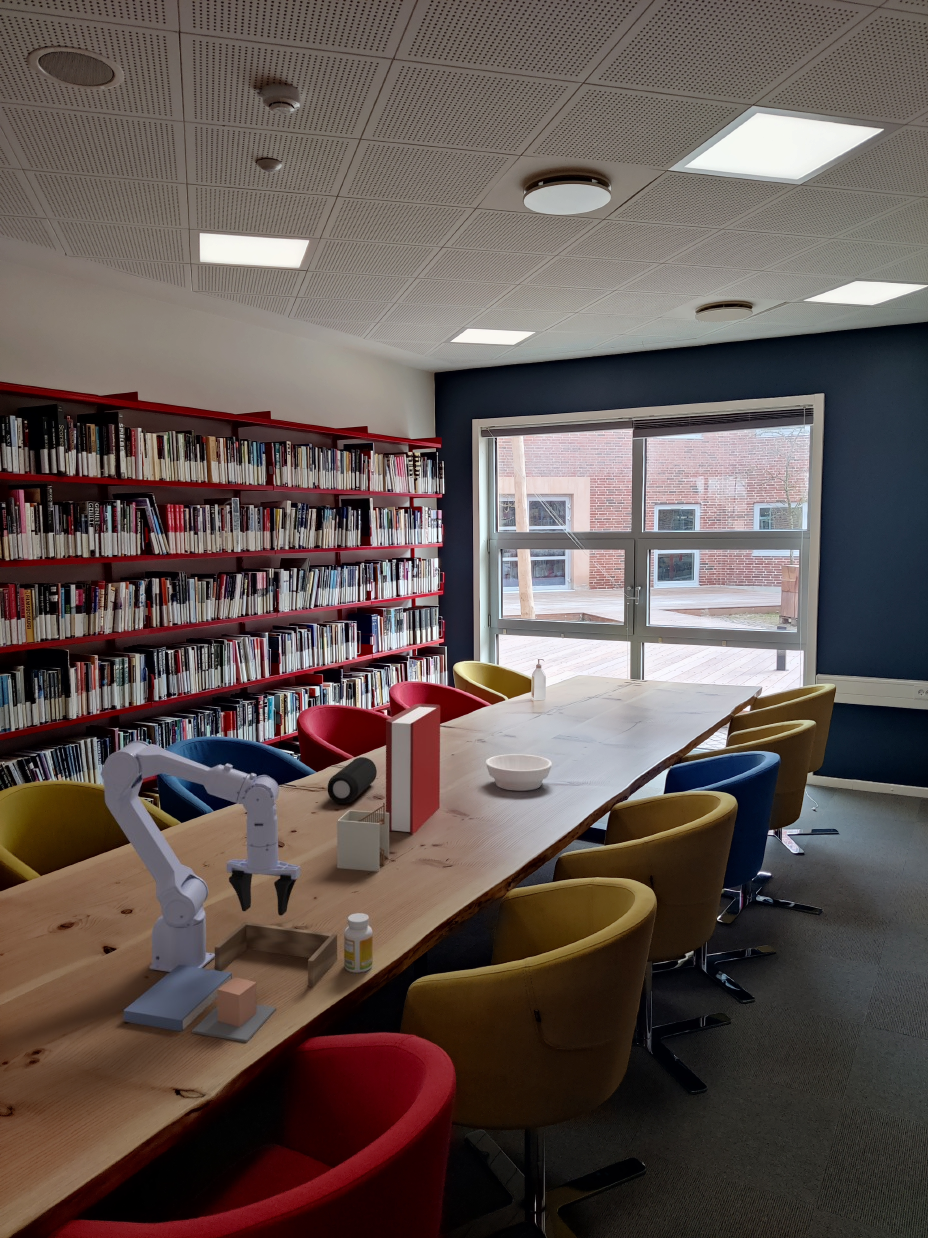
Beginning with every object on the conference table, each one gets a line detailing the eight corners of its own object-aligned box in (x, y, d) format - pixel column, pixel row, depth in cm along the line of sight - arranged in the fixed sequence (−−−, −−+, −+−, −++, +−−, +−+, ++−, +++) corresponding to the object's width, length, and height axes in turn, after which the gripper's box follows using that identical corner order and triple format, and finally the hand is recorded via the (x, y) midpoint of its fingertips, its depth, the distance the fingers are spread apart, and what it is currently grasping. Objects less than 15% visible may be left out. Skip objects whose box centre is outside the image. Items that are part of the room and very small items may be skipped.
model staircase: (379, 873, 207) (379, 808, 206) (337, 869, 209) (337, 804, 208) (389, 860, 216) (389, 797, 214) (349, 857, 218) (348, 794, 217)
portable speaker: (351, 783, 286) (351, 754, 285) (378, 785, 284) (379, 756, 283) (324, 805, 261) (324, 774, 260) (355, 807, 259) (355, 776, 258)
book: (412, 835, 234) (413, 722, 231) (385, 832, 236) (386, 720, 234) (440, 806, 260) (441, 705, 258) (416, 804, 262) (416, 703, 260)
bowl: (519, 773, 300) (520, 750, 299) (565, 788, 282) (566, 763, 282) (471, 784, 285) (471, 760, 285) (516, 800, 268) (517, 774, 267)
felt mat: (192, 1033, 138) (192, 1030, 138) (224, 1001, 147) (224, 999, 147) (247, 1042, 135) (247, 1040, 135) (276, 1010, 145) (276, 1007, 145)
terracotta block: (217, 1020, 140) (217, 989, 140) (235, 1007, 145) (234, 977, 144) (239, 1027, 139) (239, 995, 138) (256, 1013, 143) (256, 982, 142)
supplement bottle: (373, 959, 163) (373, 911, 162) (371, 973, 157) (371, 923, 157) (345, 959, 163) (345, 911, 162) (342, 973, 157) (342, 923, 156)
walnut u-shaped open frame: (215, 972, 157) (214, 947, 157) (244, 946, 168) (244, 922, 167) (313, 987, 152) (313, 961, 152) (337, 959, 163) (337, 934, 162)
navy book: (181, 1034, 138) (181, 1020, 138) (123, 1024, 141) (123, 1010, 141) (232, 986, 154) (231, 973, 153) (179, 977, 156) (178, 965, 156)
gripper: (306, 838, 161) (308, 906, 162) (238, 832, 164) (240, 899, 166) (290, 850, 154) (291, 922, 155) (219, 844, 158) (222, 914, 159)
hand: (264, 911), depth 160 cm, fingers open, 7 cm apart
